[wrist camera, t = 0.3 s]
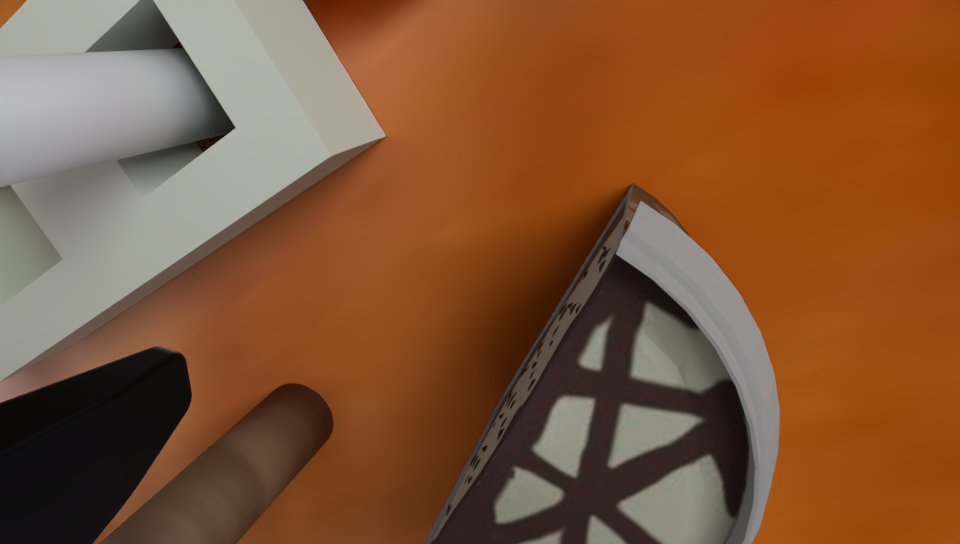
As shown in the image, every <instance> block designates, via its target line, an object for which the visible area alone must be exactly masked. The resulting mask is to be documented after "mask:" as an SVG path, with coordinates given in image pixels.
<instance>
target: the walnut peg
mask: <svg viewBox="0 0 960 544" xmlns="http://www.w3.org/2000/svg"><path fill="white" fill-rule="evenodd" d="M332 429H333V418H332V414H331V411H330V409H329V407H328V405H327V403H326V402H325V401H324V399H323V398H322V397H321V396H320V395H319V394H318V393H316V392H315V391H314V390H312V389H310V388H309V387H306V386H304V385H300V384H285V385H282V386H280V387H278V388H277V389H276V390H274V391H273V392H272V393H271V394H270V395H269V396H268V397H266V398H265V399H264V400H263V401H262V402H261V403H259V404H258V405H257V406H256V407H255V408H254V409H253V410H251V411H250V412H249V413H248V414H247V415H246V416H245V417H243V418H242V419H241V420H240V421H239V422H238V423H237V424H235V425H234V426H233V427H232V428H231V429H230V430H229V431H227V432H226V433H225V434H224V435H223V436H222V437H221V438H219V439H218V440H217V441H216V442H215V443H214V444H213V445H211V446H210V447H209V448H208V449H207V450H206V451H205V452H203V453H202V454H201V455H200V456H199V457H198V458H197V459H195V460H194V461H193V462H192V463H191V464H190V465H189V466H187V467H186V468H185V469H184V470H183V471H182V472H181V473H179V474H178V475H177V476H176V477H175V478H174V479H173V480H171V481H170V482H169V483H168V484H167V485H166V486H165V487H163V488H162V489H161V490H160V491H159V492H158V493H157V494H155V495H154V496H153V497H152V498H151V499H150V500H149V501H147V502H146V503H145V504H144V505H143V506H142V507H141V508H139V509H138V510H137V511H136V512H135V513H134V514H133V515H131V516H130V517H129V518H128V519H127V520H126V521H125V522H123V523H122V524H121V525H120V526H119V527H118V528H117V529H115V530H114V531H113V532H112V533H111V534H110V535H109V536H107V537H106V538H105V539H104V540H103V541H102V542H101V543H99V544H236V543H237V542H238V541H239V540H240V539H241V537H242V536H243V535H244V534H245V533H246V532H247V531H248V529H249V528H250V527H251V526H252V525H253V524H254V523H255V521H256V520H257V519H258V518H259V517H260V516H261V515H262V514H263V512H264V511H265V510H266V509H267V508H268V507H269V506H270V504H271V503H272V502H273V501H274V500H275V499H276V498H277V496H278V495H279V494H280V493H281V492H282V491H283V490H284V489H285V487H286V486H287V485H288V484H289V483H290V482H291V481H292V479H293V478H294V477H295V476H296V475H297V474H298V473H299V472H300V470H301V469H302V468H303V467H304V466H305V465H306V464H307V462H308V461H309V460H310V459H311V458H312V457H313V456H314V454H315V453H316V452H317V451H318V450H319V449H320V448H321V447H322V445H323V444H324V443H325V442H326V441H327V440H328V439H329V437H330V435H331V433H332Z"/></svg>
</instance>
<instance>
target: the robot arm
mask: <svg viewBox="0 0 960 544" xmlns="http://www.w3.org/2000/svg"><path fill="white" fill-rule="evenodd" d="M191 397H192V392H191V386H190V380H189V374H188V368H187V363H186V359H185V357H184V356H183V354H181V353H179V352H176V351H173V350H170V349H167V348H164V347H158V346H157V347H152V348H149V349H146V350H143V351H141V352H138V353H135V354H132V355H130V356H127V357H124V358H121V359H119V360H116V361H113V362H111V363H108V364H105V365H102V366H100V367H97V368H94V369H91V370H89V371H86V372H83V373H81V374H78V375H75V376H72V377H70V378H67V379H64V380H61V381H59V382H56V383H53V384H51V385H48V386H45V387H42V388H40V389H37V390H34V391H31V392H29V393H26V394H23V395H20V396H18V397H15V398H12V399H10V400H7V401H4V402H1V403H0V544H93V542H94V541H95V540H96V539H97V537H98V536H99V535H100V534H101V533H102V531H103V530H104V529H105V528H106V526H107V525H108V524H109V523H110V521H111V520H112V519H113V518H114V516H115V515H116V514H117V513H118V512H119V510H120V509H121V508H122V506H123V505H124V504H125V502H126V501H127V500H128V499H129V497H130V496H131V494H132V493H133V492H134V490H135V489H136V487H137V486H138V485H139V483H140V482H141V480H142V479H143V477H144V476H145V474H146V473H147V471H148V469H149V468H150V466H151V465H152V463H153V462H154V460H155V459H156V457H157V456H158V454H159V453H160V451H161V450H162V448H163V447H164V445H165V444H166V442H167V441H168V439H169V438H170V436H171V435H172V433H173V432H174V430H175V429H176V427H177V425H178V424H179V422H180V421H181V419H182V418H183V416H184V415H185V413H186V412H187V410H188V408H189V406H190V402H191Z"/></svg>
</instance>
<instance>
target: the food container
mask: <svg viewBox="0 0 960 544" xmlns="http://www.w3.org/2000/svg"><path fill="white" fill-rule="evenodd" d="M779 424H780V410H779V403H778V396H777V388H776V381H775V374H774V371H773V368H772V365H771V362H770V359H769V356H768V353H767V350H766V347H765V344H764V341H763V338H762V335H761V332H760V330H759V328H758V327H757V325H756V323H755V321H754V319H753V317H752V316H751V314H750V312H749V310H748V308H747V306H746V304H745V303H744V301H743V299H742V297H741V295H740V293H739V292H738V291H737V290H736V288H735V287H734V286H733V284H732V283H731V282H730V281H729V279H728V278H727V277H726V275H725V274H724V273H723V272H722V270H721V269H720V268H719V266H718V265H717V264H716V263H715V261H714V260H713V259H712V258H711V256H709V255H708V254H707V253H706V252H705V251H704V250H703V249H702V248H701V247H700V246H699V245H698V244H696V243H695V242H694V241H693V240H692V239H691V238H690V236H689V234H688V233H687V231H686V230H685V229H684V228H683V226H682V225H681V224H680V223H679V221H678V220H677V219H676V218H675V216H674V215H673V214H672V213H671V212H670V211H669V210H668V209H667V208H666V207H664V206H663V205H662V204H661V203H660V202H659V201H658V200H657V199H656V198H654V197H653V196H651V195H650V194H648V193H647V192H645V191H644V190H642V189H641V188H639V187H638V186H636V185H635V184H632V185H631V187H630V189H629V190H628V192H627V194H626V195H625V197H624V198H623V200H622V202H621V203H620V205H619V207H618V208H617V210H616V211H615V213H614V215H613V216H612V218H611V220H610V221H609V223H608V224H607V226H606V228H605V229H604V231H603V233H602V234H601V236H600V237H599V239H598V241H597V242H596V244H595V246H594V247H593V249H592V250H591V252H590V254H589V255H588V257H587V259H586V260H585V262H584V263H583V265H582V267H581V268H580V270H579V272H578V273H577V275H576V276H575V278H574V280H573V281H572V283H571V285H570V286H569V288H568V289H567V291H566V293H565V294H564V296H563V298H562V299H561V301H560V302H559V304H558V306H557V307H556V309H555V311H554V312H553V314H552V315H551V317H550V319H549V320H548V322H547V324H546V325H545V327H544V328H543V330H542V332H541V333H540V335H539V337H538V338H537V340H536V341H535V343H534V345H533V346H532V348H531V350H530V351H529V353H528V354H527V356H526V358H525V359H524V361H523V363H522V364H521V366H520V367H519V369H518V371H517V372H516V374H515V376H514V377H513V379H512V380H511V382H510V384H509V385H508V387H507V389H506V390H505V392H504V393H503V395H502V397H501V399H500V400H499V402H498V404H497V406H496V408H495V410H494V412H493V414H492V416H491V417H490V419H489V421H488V423H487V425H486V427H485V429H484V431H483V433H482V434H481V436H480V438H479V440H478V442H477V444H476V446H475V448H474V450H473V451H472V453H471V455H470V457H469V459H468V461H467V463H466V465H465V467H464V468H463V470H462V472H461V474H460V476H459V478H458V480H457V482H456V484H455V486H454V487H453V489H452V491H451V493H450V495H449V497H448V499H447V501H446V503H445V504H444V506H443V508H442V510H441V512H440V514H439V516H438V518H437V520H436V521H435V523H434V525H433V527H432V529H431V531H430V533H429V535H428V537H427V538H426V540H425V542H424V544H752V542H753V540H754V538H755V536H756V534H757V532H758V530H759V528H760V525H761V521H762V518H763V514H764V510H765V506H766V503H767V499H768V495H769V491H770V487H771V483H772V478H773V473H774V469H775V464H776V460H777V455H778V443H779Z"/></svg>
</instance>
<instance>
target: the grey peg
mask: <svg viewBox="0 0 960 544" xmlns="http://www.w3.org/2000/svg"><path fill="white" fill-rule="evenodd" d="M235 128H236V127H235V126H234V124H233V123H232V121H231V119H230V118H229V116H228V115H227V113H226V112H225V110H224V109H223V107H222V106H221V104H220V102H219V101H218V99H217V98H216V96H215V95H214V93H213V92H212V90H211V89H210V87H209V86H208V84H207V82H206V81H205V79H204V78H203V76H202V75H201V73H200V72H199V70H198V69H197V67H196V65H195V64H194V62H193V61H192V59H191V58H190V56H189V55H188V53H187V52H186V50H185V48H173V49H151V50H130V51H108V52H87V53H65V54H43V55H22V56H0V187H3V186H8V185H12V184H16V183H20V182H25V181H29V180H33V179H37V178H42V177H46V176H50V175H54V174H59V173H63V172H67V171H71V170H76V169H80V168H84V167H88V166H93V165H97V164H101V163H106V162H110V161H114V160H118V159H123V158H127V157H131V156H135V155H140V154H144V153H148V152H152V151H157V150H161V149H165V148H169V147H174V146H178V145H182V144H186V143H191V142H195V141H199V140H203V139H208V138H212V137H216V136H220V135H225V134H228V133H230V132H231V131H232V130H234V129H235Z"/></svg>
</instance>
